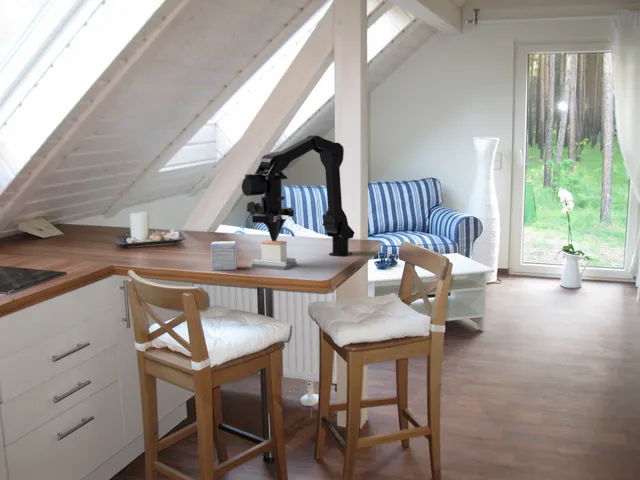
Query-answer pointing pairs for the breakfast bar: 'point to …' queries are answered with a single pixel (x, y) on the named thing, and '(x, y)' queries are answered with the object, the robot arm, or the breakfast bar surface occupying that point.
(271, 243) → the block
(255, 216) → the robot arm
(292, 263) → the rail cradle
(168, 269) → the breakfast bar surface
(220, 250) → the medicine box
